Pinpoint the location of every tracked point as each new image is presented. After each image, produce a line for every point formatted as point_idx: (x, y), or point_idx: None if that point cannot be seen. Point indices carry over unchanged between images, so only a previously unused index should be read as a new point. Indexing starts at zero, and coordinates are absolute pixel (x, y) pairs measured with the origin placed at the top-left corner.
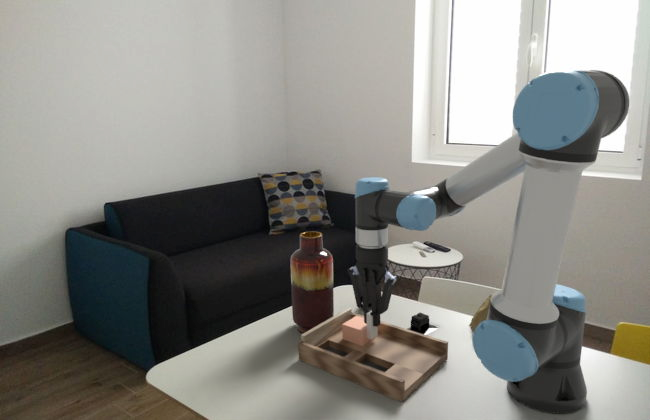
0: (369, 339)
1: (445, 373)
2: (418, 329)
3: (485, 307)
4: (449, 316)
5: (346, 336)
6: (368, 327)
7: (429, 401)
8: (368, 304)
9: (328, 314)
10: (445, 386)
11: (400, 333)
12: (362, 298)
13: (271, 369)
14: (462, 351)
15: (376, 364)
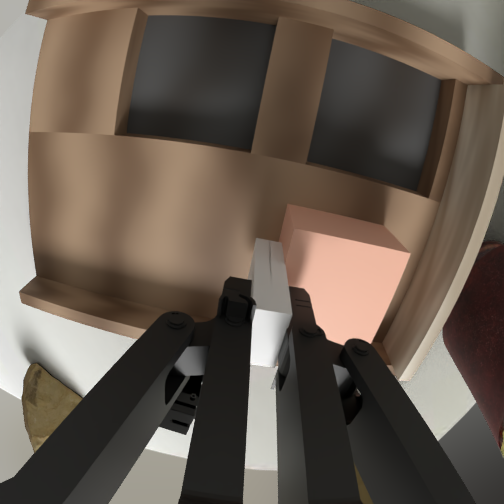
0: None
1: (25, 206)
2: None
3: (39, 438)
4: (159, 441)
5: (371, 227)
6: (273, 265)
7: (17, 63)
8: (289, 370)
9: (469, 316)
10: (7, 147)
11: None
12: (351, 409)
13: (490, 18)
14: (50, 322)
15: (201, 140)
